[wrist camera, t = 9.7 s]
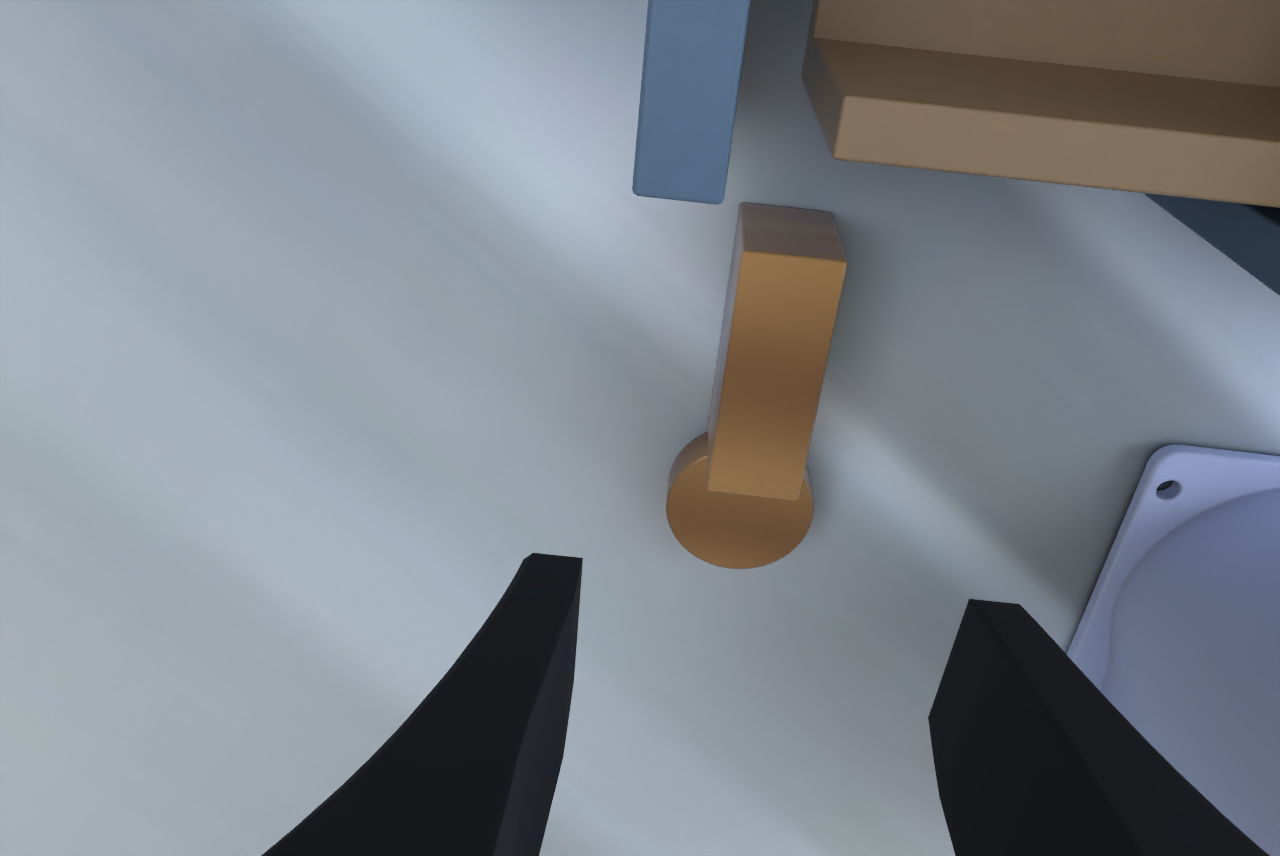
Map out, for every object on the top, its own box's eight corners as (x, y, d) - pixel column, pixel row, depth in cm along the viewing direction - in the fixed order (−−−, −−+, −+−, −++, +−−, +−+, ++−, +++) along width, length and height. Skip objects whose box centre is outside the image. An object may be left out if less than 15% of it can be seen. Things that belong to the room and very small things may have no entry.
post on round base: (703, 197, 20) (699, 245, 17) (868, 215, 20) (891, 266, 17) (661, 534, 24) (654, 613, 21) (796, 550, 24) (805, 631, 21)
